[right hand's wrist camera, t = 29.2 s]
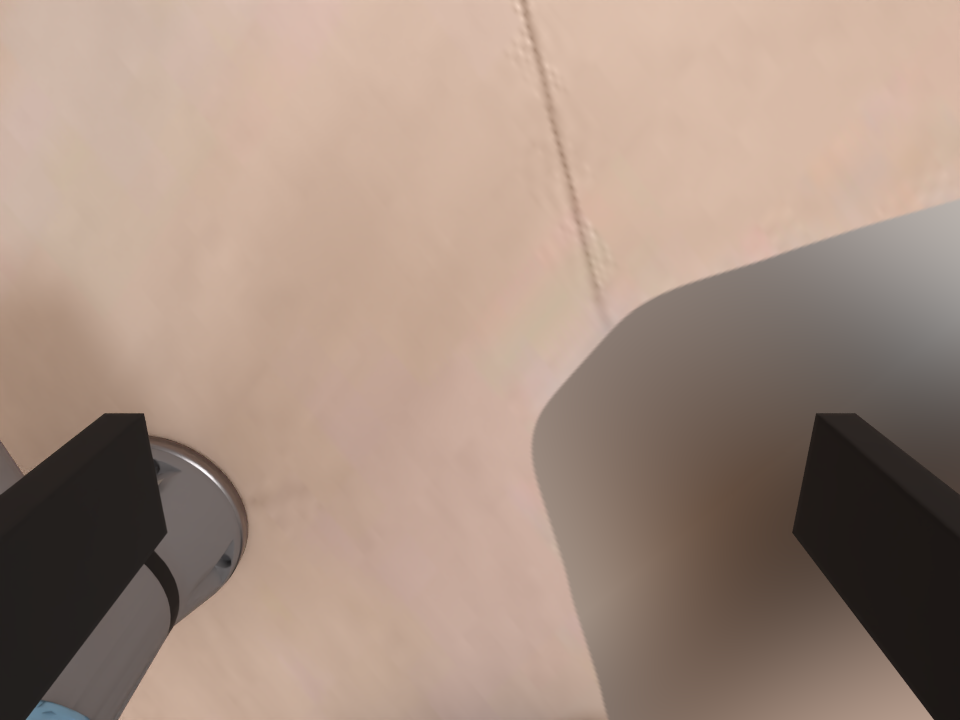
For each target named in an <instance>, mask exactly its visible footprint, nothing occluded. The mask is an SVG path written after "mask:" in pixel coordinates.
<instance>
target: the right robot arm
mask: <svg viewBox="0 0 960 720" xmlns="http://www.w3.org/2000/svg"><path fill="white" fill-rule="evenodd" d="M792 533H793V534H794V536H795V537H796V538H797V540H798V541H799V542H800V543H801V545H802V546H803V547H804V549H805V550H806V551H807V553H808V554H809V555H810V557H811V558H812V559H813V561H814V562H815V563H816V565H817V566H818V567H819V568H820V570H821V571H822V572H823V574H824V575H825V576H826V578H827V579H828V580H829V582H830V583H831V584H832V586H833V587H834V588H835V590H836V591H837V592H838V594H839V595H840V596H841V598H842V599H843V600H844V601H845V603H846V604H847V605H848V607H849V608H850V609H851V611H852V612H853V613H854V615H855V616H856V617H857V619H858V620H859V621H860V623H861V624H862V625H863V627H864V628H865V629H866V630H867V632H868V633H869V634H870V636H871V637H872V638H873V640H874V641H875V642H876V644H877V645H878V646H879V648H880V649H881V650H882V652H883V653H884V654H885V656H886V657H887V658H888V660H889V661H890V662H891V664H892V665H893V666H894V667H895V669H896V670H897V671H898V673H899V674H900V675H901V677H902V678H903V679H904V681H905V682H906V683H907V685H908V686H909V687H910V689H911V690H912V691H913V693H914V694H915V695H916V696H917V698H918V699H919V700H920V702H921V703H922V704H923V706H924V707H925V708H926V710H927V711H928V712H929V714H930V715H931V716H932V718H933V719H934V720H960V495H959V494H958V493H957V492H955V491H954V490H953V489H952V488H950V487H949V486H948V485H946V484H945V483H944V482H943V481H941V480H940V479H939V478H937V477H936V476H935V475H934V474H932V473H931V472H930V471H928V470H927V469H926V468H925V467H923V466H922V465H921V464H919V463H918V462H917V461H916V460H914V459H913V458H912V457H911V456H909V455H908V454H907V453H905V452H904V451H903V450H902V449H900V448H899V447H898V446H896V445H895V444H894V443H893V442H891V441H890V440H889V439H887V438H886V437H885V436H883V435H882V434H881V433H880V432H878V431H877V430H876V429H875V428H873V427H872V426H871V425H869V424H868V423H867V422H866V421H864V420H863V419H862V418H861V417H859V416H858V415H857V414H855V413H817V414H816V417H815V422H814V427H813V432H812V437H811V442H810V447H809V452H808V457H807V462H806V467H805V472H804V477H803V482H802V487H801V492H800V497H799V502H798V507H797V512H796V517H795V522H794V527H793V532H792ZM247 538H248V522H247V516H246V512H245V508H244V505H243V503H242V500H241V498H240V496H239V494H238V492H237V490H236V489H235V487H234V486H233V484H232V483H231V482H230V480H229V479H228V478H227V477H226V475H225V474H224V473H223V472H222V471H221V470H220V469H219V468H218V467H217V466H215V465H214V464H213V463H212V462H211V461H209V460H208V459H207V458H205V457H204V456H202V455H201V454H199V453H198V452H196V451H194V450H192V449H190V448H188V447H186V446H184V445H182V444H179V443H177V442H174V441H171V440H167V439H163V438H159V437H153V436H148V432H147V427H146V422H145V417H144V413H105V414H103V415H102V416H101V417H99V418H98V419H97V420H96V421H94V422H93V423H92V424H90V425H89V426H88V427H87V428H85V429H84V430H83V431H82V432H80V433H79V434H78V435H76V436H75V437H74V438H73V439H71V440H70V441H69V442H67V443H66V444H65V445H64V446H62V447H61V448H60V449H58V450H57V451H56V452H55V453H53V454H52V455H51V456H49V457H48V458H47V459H46V460H44V461H43V462H42V463H41V464H39V465H38V466H37V467H35V468H34V469H33V470H32V471H30V472H29V473H28V474H26V475H25V476H24V475H23V473H22V472H21V470H20V469H19V467H18V466H17V464H16V463H15V461H14V460H13V459H12V457H11V456H10V454H9V453H8V451H7V450H6V448H5V447H4V445H3V444H2V442H1V441H0V720H118V719H119V717H120V715H121V714H122V712H123V710H124V709H125V707H126V705H127V704H128V702H129V700H130V698H131V697H132V695H133V693H134V692H135V690H136V688H137V687H138V685H139V683H140V682H141V680H142V678H143V676H144V675H145V673H146V671H147V670H148V668H149V666H150V665H151V663H152V661H153V660H154V658H155V656H156V654H157V653H158V651H159V649H160V648H161V646H162V644H163V643H164V641H165V639H166V637H167V636H168V634H169V633H170V631H171V629H172V628H173V626H174V625H176V624H177V623H178V622H179V621H181V620H182V619H183V618H185V617H186V616H187V615H188V614H190V613H191V612H192V611H193V610H195V609H196V608H197V607H199V606H200V605H201V604H202V603H204V602H205V601H206V600H207V599H209V598H210V597H211V596H212V595H214V594H215V593H216V592H217V591H218V590H219V589H220V588H221V587H222V586H223V585H224V584H225V583H226V582H227V581H228V579H229V578H230V577H231V575H232V574H233V572H234V570H235V569H236V567H237V565H238V563H239V561H240V559H241V557H242V555H243V553H244V550H245V547H246V543H247Z"/></svg>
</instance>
